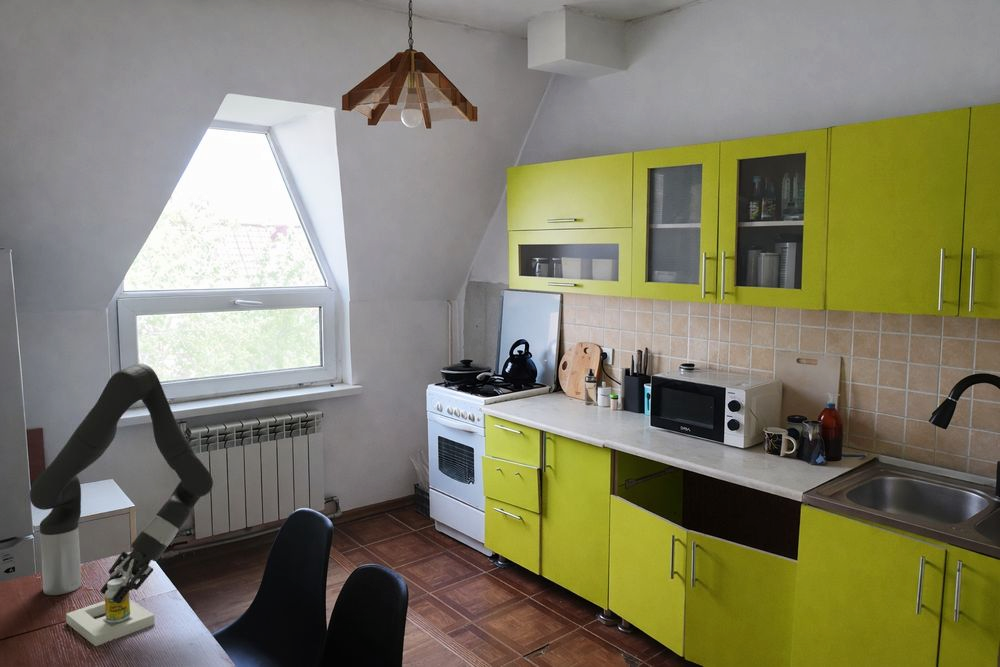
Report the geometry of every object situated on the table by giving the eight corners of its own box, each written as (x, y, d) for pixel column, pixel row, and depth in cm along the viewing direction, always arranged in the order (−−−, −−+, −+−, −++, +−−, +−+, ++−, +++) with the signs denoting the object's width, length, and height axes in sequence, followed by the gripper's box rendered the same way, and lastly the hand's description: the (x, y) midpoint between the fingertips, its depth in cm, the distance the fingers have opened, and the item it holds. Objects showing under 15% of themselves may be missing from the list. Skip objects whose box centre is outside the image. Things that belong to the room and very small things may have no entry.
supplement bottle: (128, 611, 183) (127, 575, 182) (131, 619, 178) (129, 582, 177) (104, 616, 180) (103, 579, 179) (106, 625, 175) (105, 587, 174)
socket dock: (66, 623, 182) (66, 612, 182) (123, 603, 193) (123, 593, 193) (95, 646, 171) (94, 635, 170) (154, 624, 181) (154, 614, 181)
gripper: (132, 524, 187) (85, 583, 179) (157, 537, 178) (109, 599, 170) (153, 538, 192) (108, 596, 184) (179, 551, 183) (133, 613, 175)
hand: (109, 597), depth 177 cm, fingers open, 6 cm apart
